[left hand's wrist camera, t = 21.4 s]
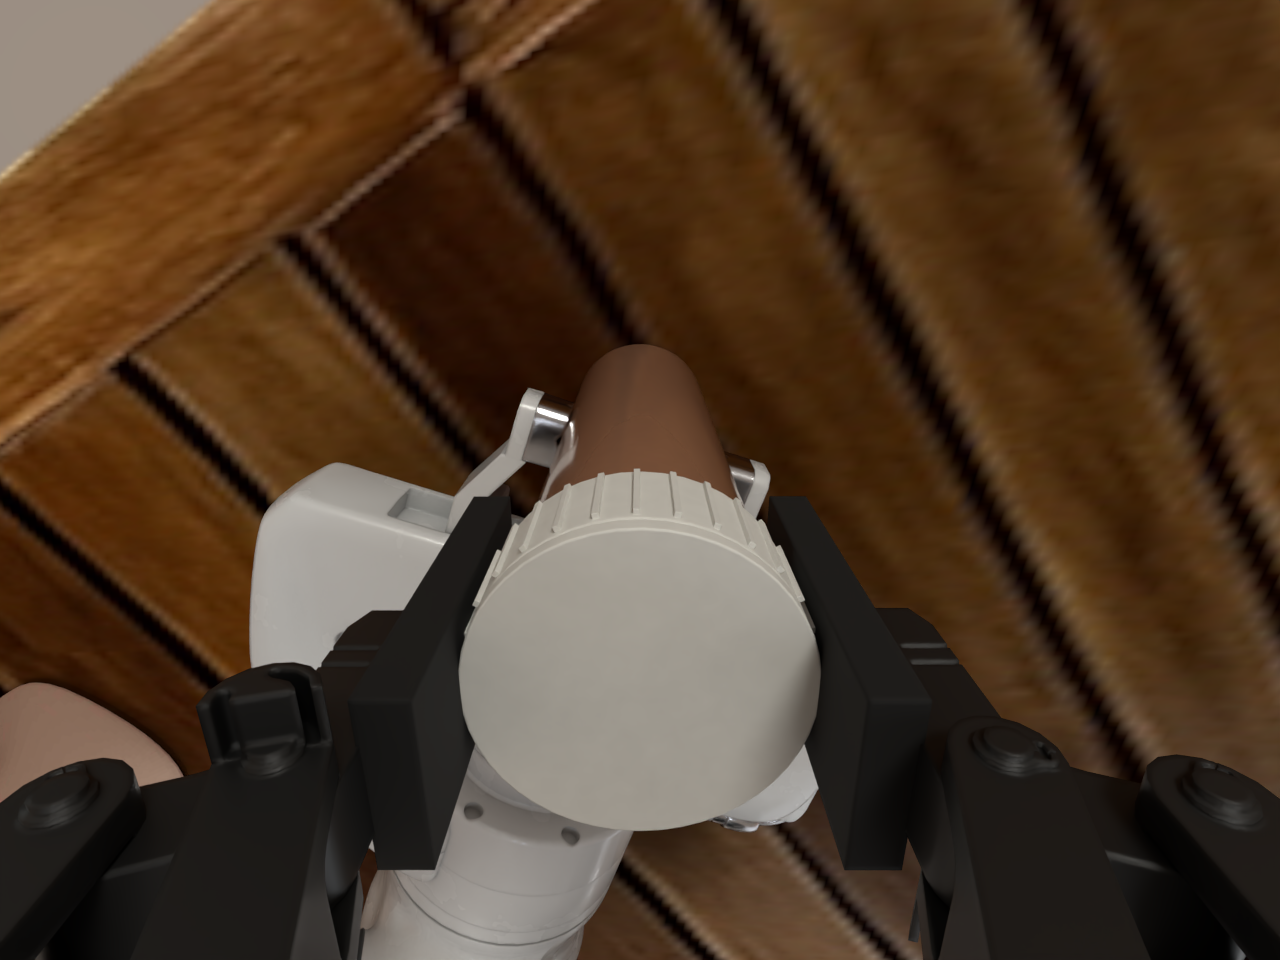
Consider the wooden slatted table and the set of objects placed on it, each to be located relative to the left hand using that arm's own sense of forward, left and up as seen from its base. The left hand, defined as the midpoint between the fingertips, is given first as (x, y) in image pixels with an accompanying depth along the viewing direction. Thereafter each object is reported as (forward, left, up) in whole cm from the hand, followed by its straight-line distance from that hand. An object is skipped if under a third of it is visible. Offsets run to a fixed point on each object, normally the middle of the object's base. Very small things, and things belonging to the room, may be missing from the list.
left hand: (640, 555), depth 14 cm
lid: (0, 0, +4) cm, 4 cm away
